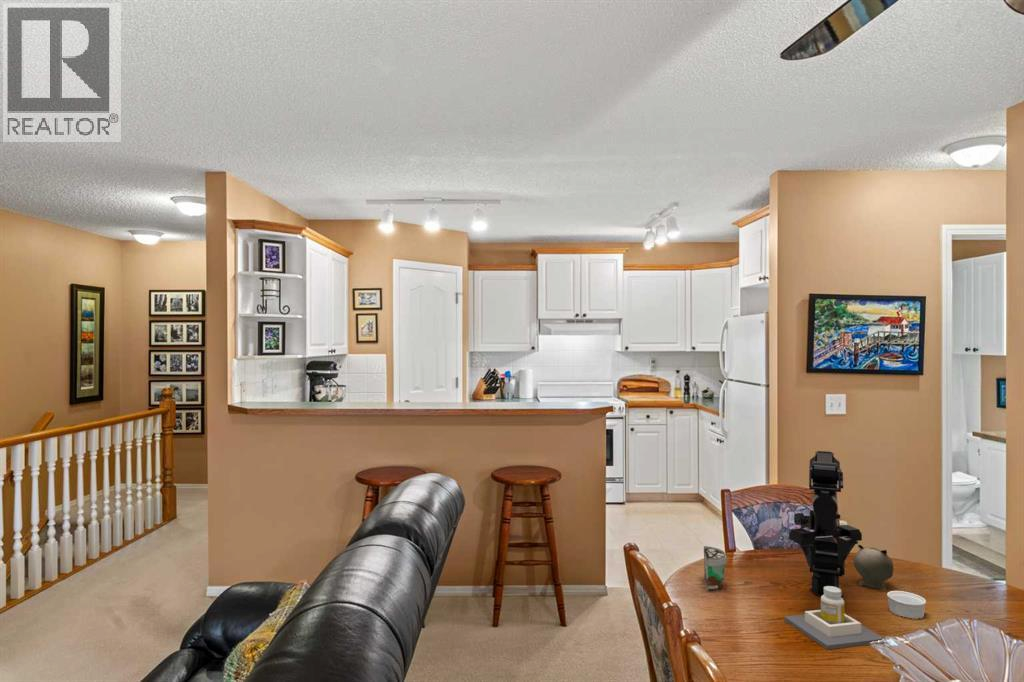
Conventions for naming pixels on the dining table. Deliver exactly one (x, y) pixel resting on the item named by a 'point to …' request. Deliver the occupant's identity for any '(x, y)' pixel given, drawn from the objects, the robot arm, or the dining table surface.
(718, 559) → the food container
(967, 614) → the dining table surface
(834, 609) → the supplement bottle
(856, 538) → the robot arm
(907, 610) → the ramekin
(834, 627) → the bottle holder
